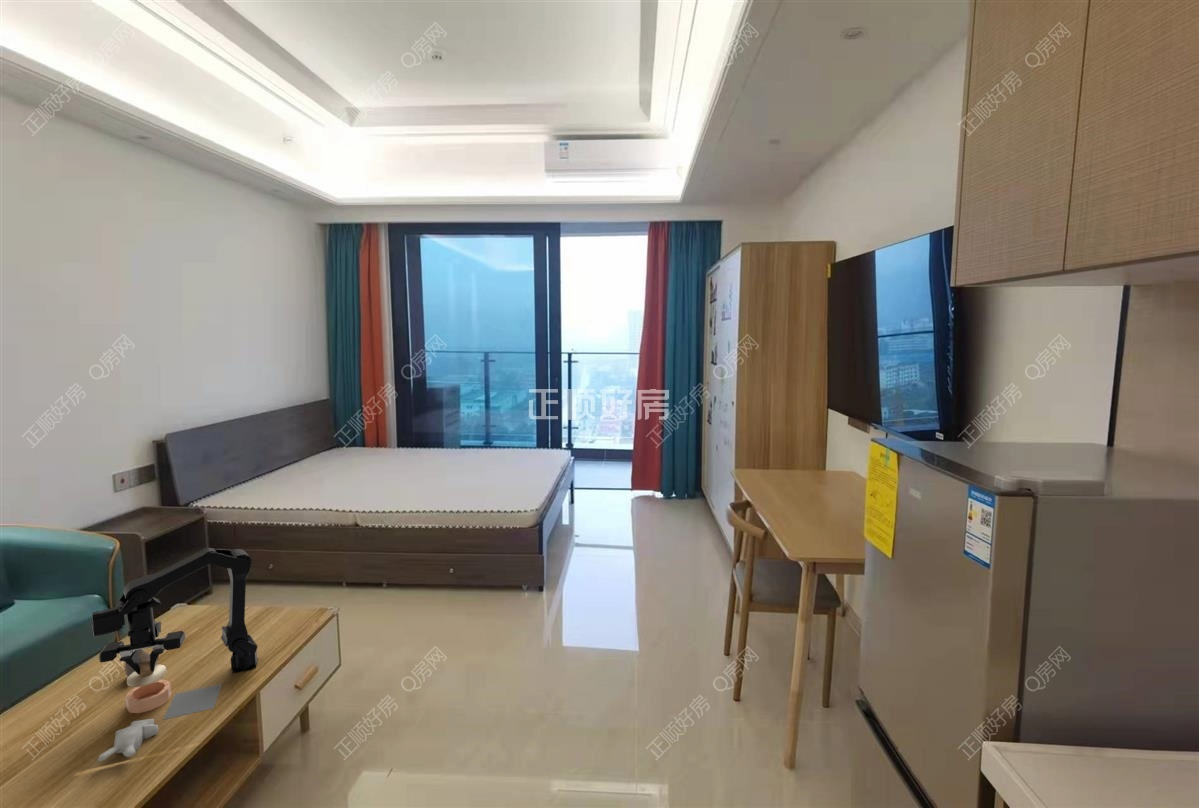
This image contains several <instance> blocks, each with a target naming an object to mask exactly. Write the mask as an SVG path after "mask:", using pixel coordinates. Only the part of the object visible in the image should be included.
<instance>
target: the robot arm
mask: <svg viewBox="0 0 1199 808" xmlns="http://www.w3.org/2000/svg"><path fill="white" fill-rule="evenodd" d="M252 563H253V561H252V558H251V556H250V555H248V553H247V552H246V551H245V550H244V549H241V548H237V549H236V548H235V549H233V550H231V549H227V548H224V549H223V548H212V547H207V548H204V549H203V550H201V551H200V552H198V553H196V554H194V555H192V556H190V557H188V558H185V559H184V560H182V561H180V562H177V563H176V564H174V565H172V566H170V567H168V568H165V569H164V570H162V571H159V572H156V573H154V574H147V575H144V576H143V575H142V576H141V577H139V578H135V579H132V580H130V581H128V582H127V583H126V584H125V586H124V587H123V588H124V589H123V593H122V595H121V597H120V598H119V599H118V600H117V602H116V606H115V607H111V608H108V609H103V610H98V611H93V612H92V613H91V617H92V618H91V619H92V621H91V627H92V633H93V638H98V637H101V636H104V635H108V634H111V633H115V632H118V631H121V629H123V628H124V626H126V623H125V621H126V619H127V627H128V632H127V637H128V638H129V644H125V642H124V641H123V640H119V641H115V642H110V643H107V644H106V645H105V646H104V648H103V649H102V650H101V652H99V655H98V659H99V662H100V663H101V664H102V663H108V662H112V661H114V660H115V659H116V658H117V657H118V654H119V657H120V658H119V662H124V664H125V663H127V664H128V665H129V666H131V667H132V668H133V669H134V671H135V672H136V673H137V674H138V675H140V667H139V662H140V660H139V655H138V653H139V650H140V649H143V650H145V649H146V650H147V649H150V648H152V650H151V652H150V653H149V654H150V663H151V671H152V672H154V670H155V667H156V665H158V664H157V662H158V661H159V656H160V655H162V654H163V653H164V652H165V651H171V650H175V649H176V650H178V649H180V648H181V647H182V645H183V643H184V641H185V639H186V633H185V632H184V631H183V630H179V631H172V632H167V634H166V636H164V637H159V636H160V633H161V632H162V621H156V620H155V619H154V611H153V610H154V609H153V607H158V606H160V605H161V601H160V599H159V598H156V597H155V596H157V595H159V594H160V592H161V591H163V589H165V588H167V586H170V585H171V584H173V583H175V582H177V581H179V580H181V579H183V578H185V577H187V576H189V575H191V574H193V573H195V572H197V571H199V570H201V569H203V568H205V567H207V566H208V565H212V566H213V565H214V566H218V567H221V568H225V569H227V571H228V572H227V573H228V577H229V606H228V607H229V610H228V611H229V613H228V616H229V617H228V622H227V624H226V626H225V625H224V626H221V631H222V634H221V636H220V639H221V640H222V642H223V644H224V646H225V647H227V649H228V651H229V652H231V653H232V654H231V655H230V656H231V657H230V667H231V670H232V672H231V673H232V674H237V673H243V672H247V671H252V670H255V669H256V668H257V665H258V662H259V658H258V651H257V649H258V647H259V646H258V645H257V643H256V641H255V640H254V639H253V637H252V635H250V634H249V633H248V628H247V625H246V623H245V617H246V592H247V591H246V590H247V589H246V586H247V585H246V583H247V578H248V576H249V575H250V571H251V568H252ZM125 615H126V619H125ZM231 670H230V671H231Z"/></svg>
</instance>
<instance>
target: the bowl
mask: <svg viewBox="0 0 1199 808" xmlns="http://www.w3.org/2000/svg"><path fill="white" fill-rule="evenodd" d="M172 694H173V693H172V686H171V682H170V681H169V680H168V679H159V680H157V681H156V682H153V683H151V684H148V685H145V686H141V687H133V688H132V689H131V690H129V692H127V694H126V696H125V705H126V710H127V711H128V712H129V713H132V714H133V713H134V714H141V713H145V712H146V713H147V712H150V711H152V710H154V709H157V708H158V707H161V706H163V705H164V704H165V703H166V702H168V701H169V700H170V698H171V696H172Z"/></svg>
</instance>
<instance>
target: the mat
mask: <svg viewBox="0 0 1199 808" xmlns="http://www.w3.org/2000/svg"><path fill="white" fill-rule="evenodd" d="M222 686H223V683H219V684H213V685H211V686H206V687H200V688H197V689H192V690H187V691H181V692H178V693H177V692H176V693H175V694H174V695H173V697H172V699H171V702H170V703H169V706H168V708H167V711H166V712H165V715H164V717H163V718H162V719H163V721H165V720H169V719H174V718H177V717H181V716H186V715H190V714H191V715H192V714H196V713H199V712H204V711H208V710H213V709H214V708H215V706H216V703H217V700H218V697H219V694H220V693H221V692H220V691H221V689H222Z"/></svg>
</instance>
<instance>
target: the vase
mask: <svg viewBox="0 0 1199 808" xmlns="http://www.w3.org/2000/svg"><path fill="white" fill-rule="evenodd" d="M150 654H151V653H149V652H147V651H146V650H145V649H140V650H139V653H138V655H139V660H140V661H142V660H144V659H150ZM124 672H125V675H126V676H127V677H128V676H129V675H131V674H132V673H133V672H135V671H134V669H133V668H132V667H131V666H129V665H128V664H127V663H125V662H124Z"/></svg>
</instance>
